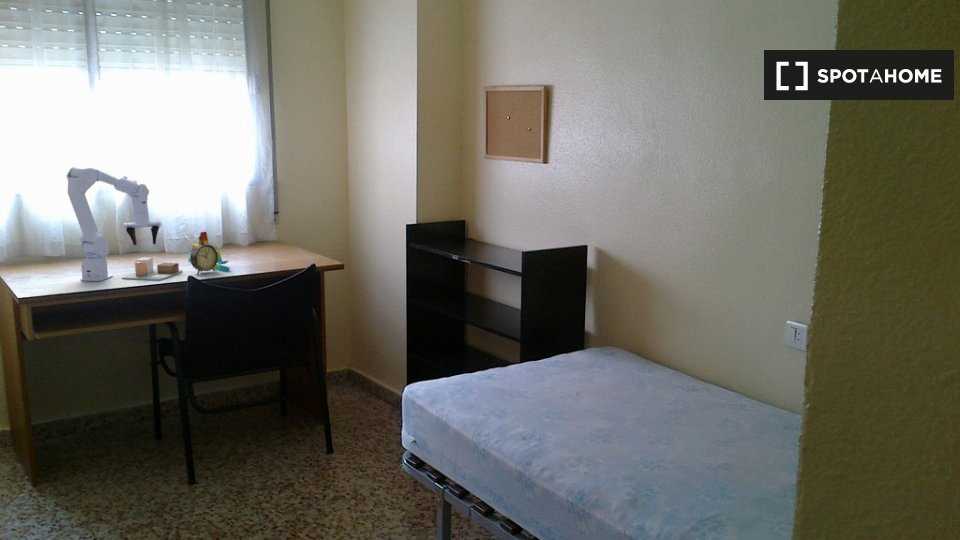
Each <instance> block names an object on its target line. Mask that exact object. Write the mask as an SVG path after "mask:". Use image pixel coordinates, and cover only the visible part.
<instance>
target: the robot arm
mask: <svg viewBox="0 0 960 540" xmlns="http://www.w3.org/2000/svg"><path fill="white" fill-rule="evenodd" d="M66 179H67V195H68V198H69V201H70V203H71V206H72V208H73V212H74V214H75V217H76V219H77V222H78V225H79V227H80V229H81V233H82V236H81V237H80V242H81V246H80V247H81V252H82V253H84V256H85V259H83V260H82V262H81V277H82V278H80V281H83V282H84V281H85V282H86V281H87V282H101V281H104V280H107V279H109V278H113V277H114V276H113V275H111V274H110V275H109V273H108V259H107V257H108V255H109V253H110V250H111V247H110V244H109V242H108V241H107V240H106V239H105V236H104V235H103V234H101V232H99V230H98V227H97V224H96V220H95V219H94V216H93V213H92V211H91V208H90V205H89V202H88V199H87V197H86V193H87V191H88V190H89V189H90V188H92V186H94V185H95V184H96V182H103V183H105V184H107V185H108V184H109V185H111V186H113V187H114V189H115V190H116V191H118V192H121V193H124V194H126V195H128V197H131V204H132V205H131V206H132V212H133V219H134V220H133V221H134V222H124V223H123V224H122V226H123V229H126V230H125V231H126V233H127V234H128V235H129V237H130V239H131V241H132V243H133V246H136V245H137V244H138V243H137V237H136V229H137V228H150V230H151V231H150V232H151V236H152V244H153V245H156V243H157V237H158V233H159V230H160V228H161V227H162V221H155V220H154V221H152V220H151V221H150V216H149V206H148V197H149V196H148V195H150V194H149V193H150V189H148V187H147V185H146V184H144V183H138V181H137V180H131V179H128V176H126V175H123V176H118V177H115V176H114V175H111V174H108V173H107V172H104V171H102V170H100V169H96V168H93V167H81V166H72V167H70V169H69V171H68V172H67V174H66Z"/></svg>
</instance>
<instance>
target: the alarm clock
mask: <svg viewBox="0 0 960 540" xmlns="http://www.w3.org/2000/svg"><path fill="white" fill-rule="evenodd" d="M201 235H204V234H201ZM201 235H199V237H198V242H199V241H200V236H201ZM204 237H205V235H204ZM204 241H205V240H204ZM204 241H200V242H201V245H197V246H196V247H195V248H194V249H193V250H192V249H191V251H192V252H191V255H189V256H190V257H189V258H190V260H191V262H190V264H191V266H192V267H193V269H195V270H197V273H196V275H197V276H199V274H200V273H202V272H210V271H212V270H213V272H216V270H215V269H214V267H215V266H216V264H218V263H217V260H218V255H217V250H216V248H215V247H214V246H213V245H211V244H209V245H204V243H203V242H204Z"/></svg>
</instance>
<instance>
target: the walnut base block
mask: <svg viewBox="0 0 960 540" xmlns="http://www.w3.org/2000/svg"><path fill="white" fill-rule="evenodd" d="M179 267H180V266H179V262H163V263H162V262H161V263H159V264H157V265H156V268H157V271H158V274H173V273H176V272H179V270H180V268H179Z"/></svg>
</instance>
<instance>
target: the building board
mask: <svg viewBox="0 0 960 540" xmlns="http://www.w3.org/2000/svg"><path fill="white" fill-rule="evenodd" d="M181 273H183V270H180V269H179V272H176V273H173V274H158V271H157V269H156V268H153V271H152V272H150V273H148V276H144V277H137V276H136V273H135V272H134V273H131V274H128V275H125V276H122V277H121V280H136V281H153V282H154V281H155V282H156V281H157V282H158V281H159V282H160V281H163V280H165V279H168V278H171V277H174V276H176V275H179V274H181Z"/></svg>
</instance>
